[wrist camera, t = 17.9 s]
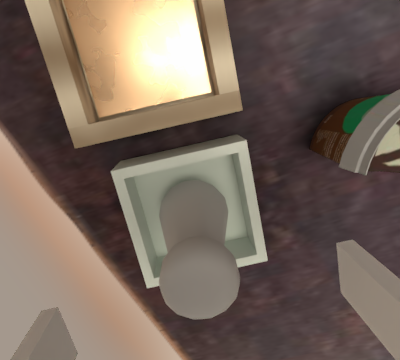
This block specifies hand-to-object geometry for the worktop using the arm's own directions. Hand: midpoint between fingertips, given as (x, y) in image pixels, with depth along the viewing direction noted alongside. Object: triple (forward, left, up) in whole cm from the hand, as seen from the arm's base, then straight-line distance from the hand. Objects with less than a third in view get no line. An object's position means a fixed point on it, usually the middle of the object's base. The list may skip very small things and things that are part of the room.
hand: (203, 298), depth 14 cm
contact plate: (-14, -1, -15) cm, 20 cm away
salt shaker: (0, 0, -14) cm, 14 cm away
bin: (0, 0, -14) cm, 14 cm away
